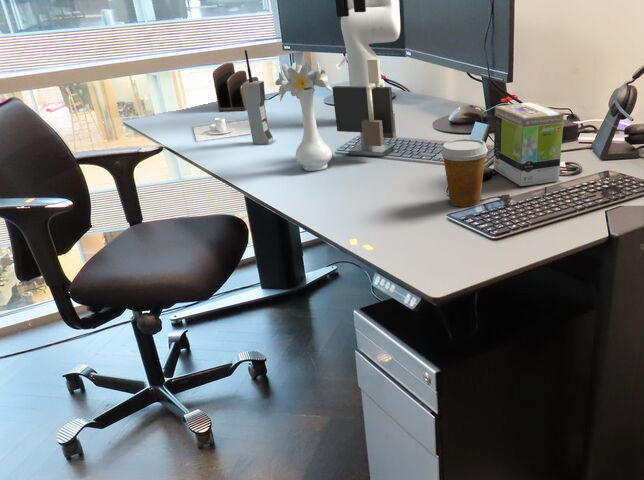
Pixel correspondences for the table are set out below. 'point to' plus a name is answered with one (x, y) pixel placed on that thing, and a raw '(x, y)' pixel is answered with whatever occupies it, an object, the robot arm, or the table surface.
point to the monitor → (363, 114)
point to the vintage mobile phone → (256, 109)
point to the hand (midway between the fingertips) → (351, 14)
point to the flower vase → (307, 112)
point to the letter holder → (230, 87)
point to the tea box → (528, 143)
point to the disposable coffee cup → (464, 170)
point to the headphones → (372, 127)
